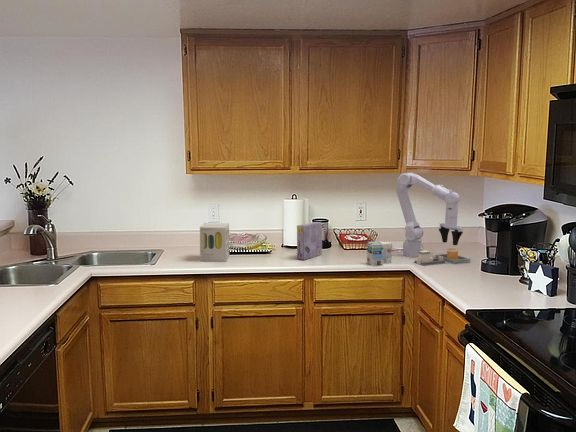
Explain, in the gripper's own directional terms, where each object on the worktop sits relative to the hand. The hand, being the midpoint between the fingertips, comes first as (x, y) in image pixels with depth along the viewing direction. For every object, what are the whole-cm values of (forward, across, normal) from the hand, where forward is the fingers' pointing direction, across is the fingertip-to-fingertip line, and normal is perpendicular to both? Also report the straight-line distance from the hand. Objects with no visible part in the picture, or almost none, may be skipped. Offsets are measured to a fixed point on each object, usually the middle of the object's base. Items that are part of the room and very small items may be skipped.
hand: (449, 243), depth 277 cm
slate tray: (+9, +1, +1) cm, 10 cm away
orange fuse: (+9, +1, +1) cm, 9 cm away
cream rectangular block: (+8, +1, -16) cm, 18 cm away
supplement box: (+10, -53, -105) cm, 118 cm away
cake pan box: (+10, -39, -58) cm, 71 cm away
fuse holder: (+10, +1, -13) cm, 16 cm away
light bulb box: (+10, -10, -34) cm, 37 cm away
